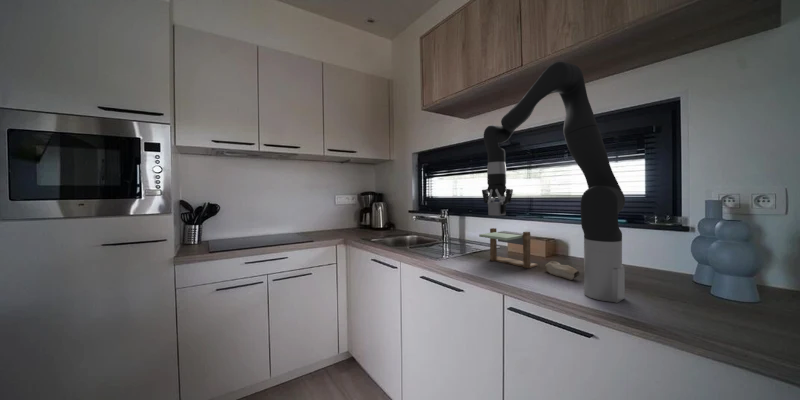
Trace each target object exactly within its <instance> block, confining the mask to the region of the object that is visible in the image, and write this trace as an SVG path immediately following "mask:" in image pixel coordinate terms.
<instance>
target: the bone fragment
mask: <svg viewBox="0 0 800 400" xmlns="http://www.w3.org/2000/svg"><path fill="white" fill-rule="evenodd" d="M544 265H545V270H546V272H547V273H548V274H550V275H552V276H553V275H554V276H555V277H561V278H563V279H567V280H571V281H573V280H574V279H576V278H577V277H578V276H581V273H580V271H579V270H577V269H576V268H574V267H572V266H571V265H568V264H561V263H560V262H559V261H555V260H551V261H548V263H546V264H544Z"/></svg>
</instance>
